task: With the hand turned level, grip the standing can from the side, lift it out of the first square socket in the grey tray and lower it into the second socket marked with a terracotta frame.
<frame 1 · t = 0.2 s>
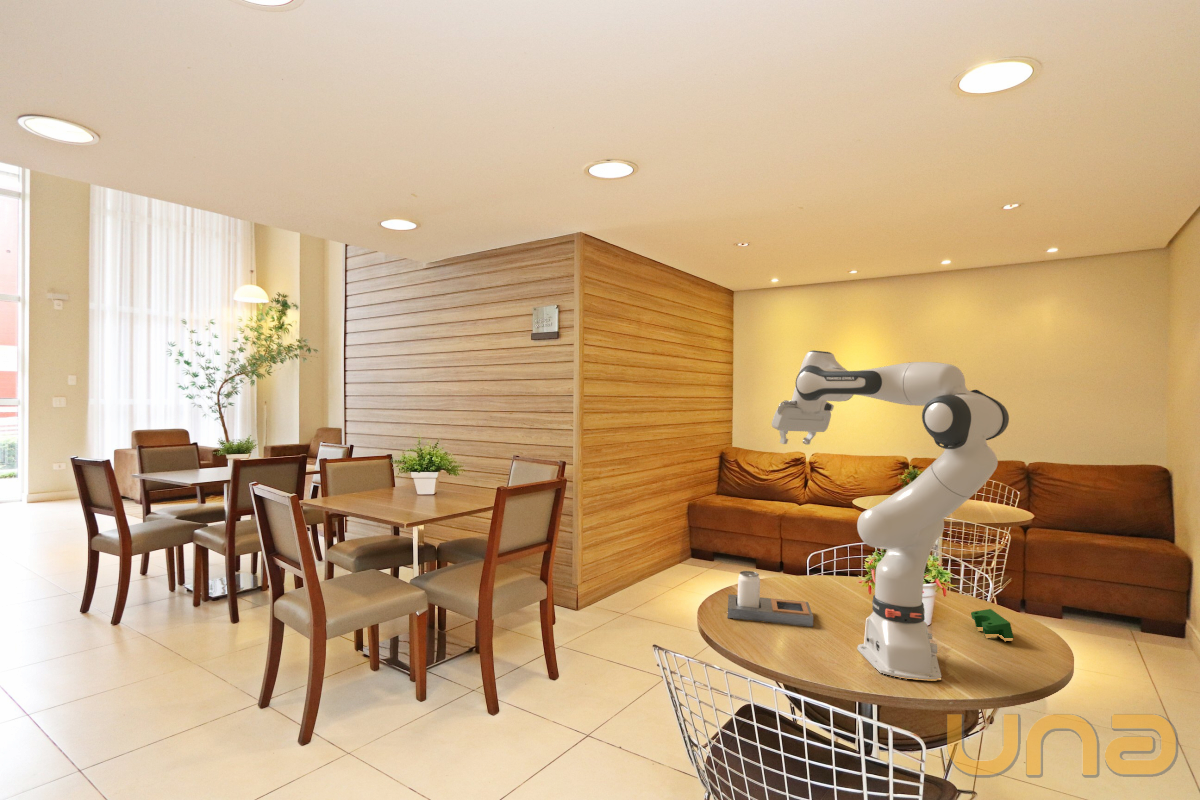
hand: (794, 443, 193), 51 cm above the table, tool tilted 15°, fingers open, 8 cm apart
grey tray: (768, 614, 187), on the table
clamp: (990, 636, 175), on the table
can: (747, 613, 188), resting in grey tray
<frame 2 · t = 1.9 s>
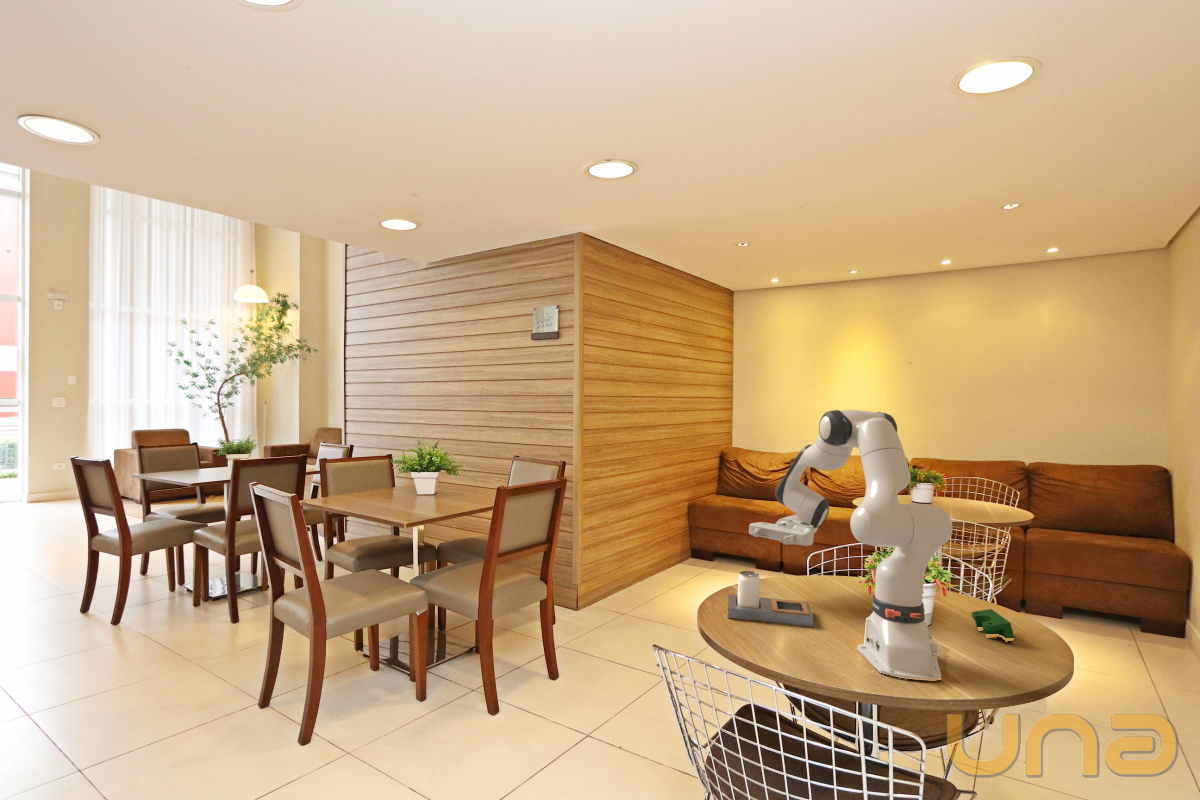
hand: (768, 537, 197), 21 cm above the table, tool horizontal, fingers open, 8 cm apart
nothing on the table moved.
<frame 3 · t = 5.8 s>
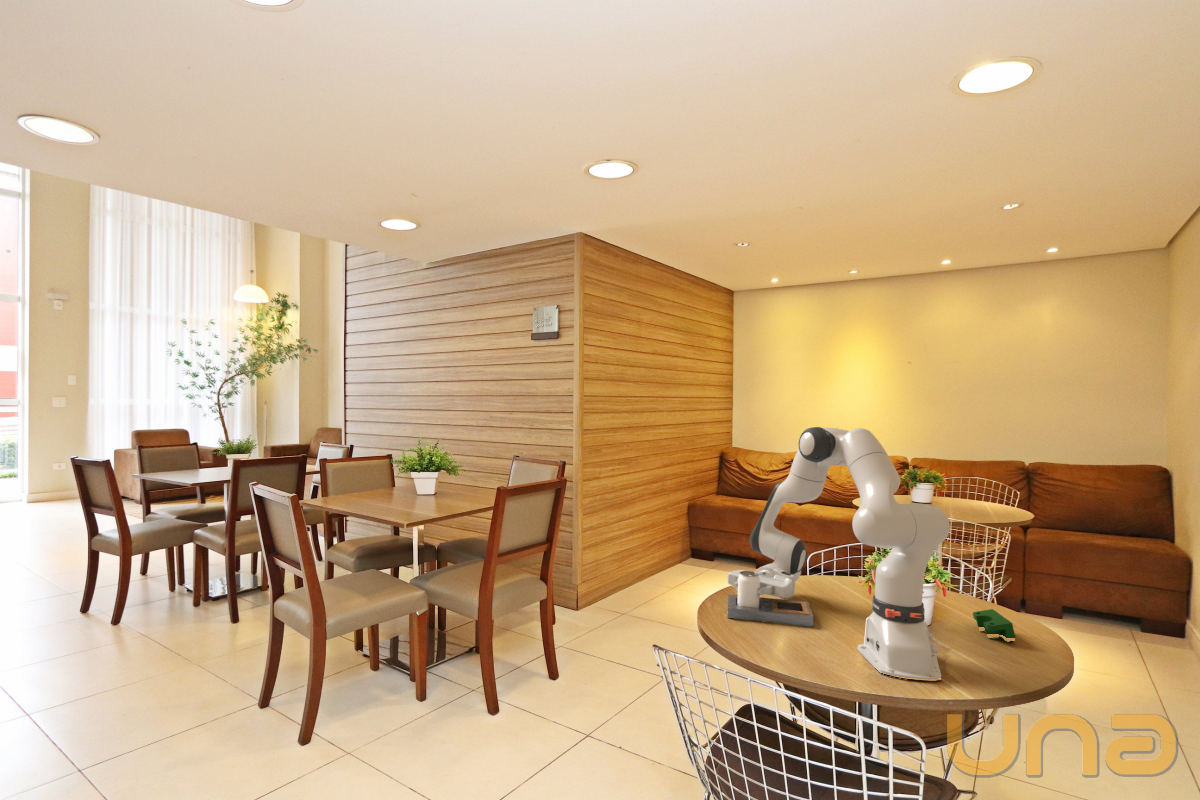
hand: (747, 588, 187), 8 cm above the table, tool horizontal, fingers open, 6 cm apart
can: (747, 613, 188), resting in grey tray, touching gripper
everything else where it was.
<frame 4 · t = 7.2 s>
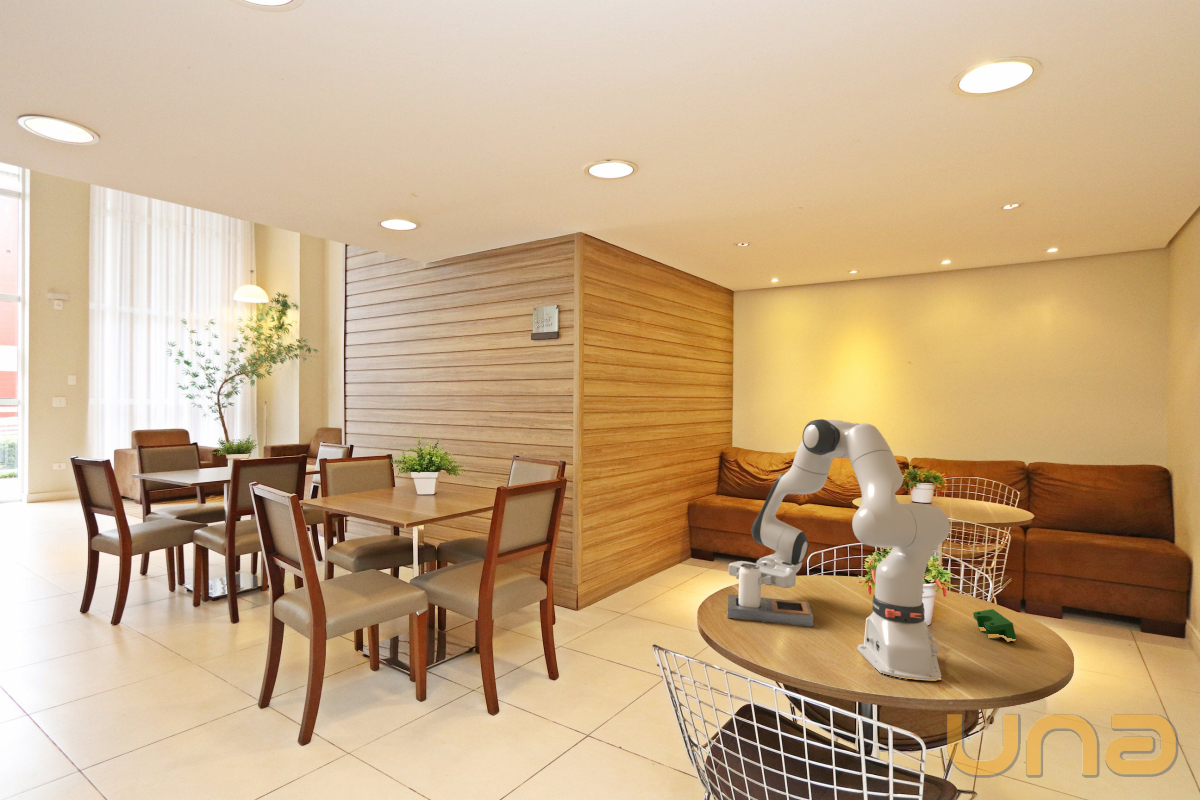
hand: (748, 579, 187), 11 cm above the table, tool horizontal, fingers closed on can, 5 cm apart
can: (749, 606, 187), point 2 cm above the table, touching gripper
everything else where it was.
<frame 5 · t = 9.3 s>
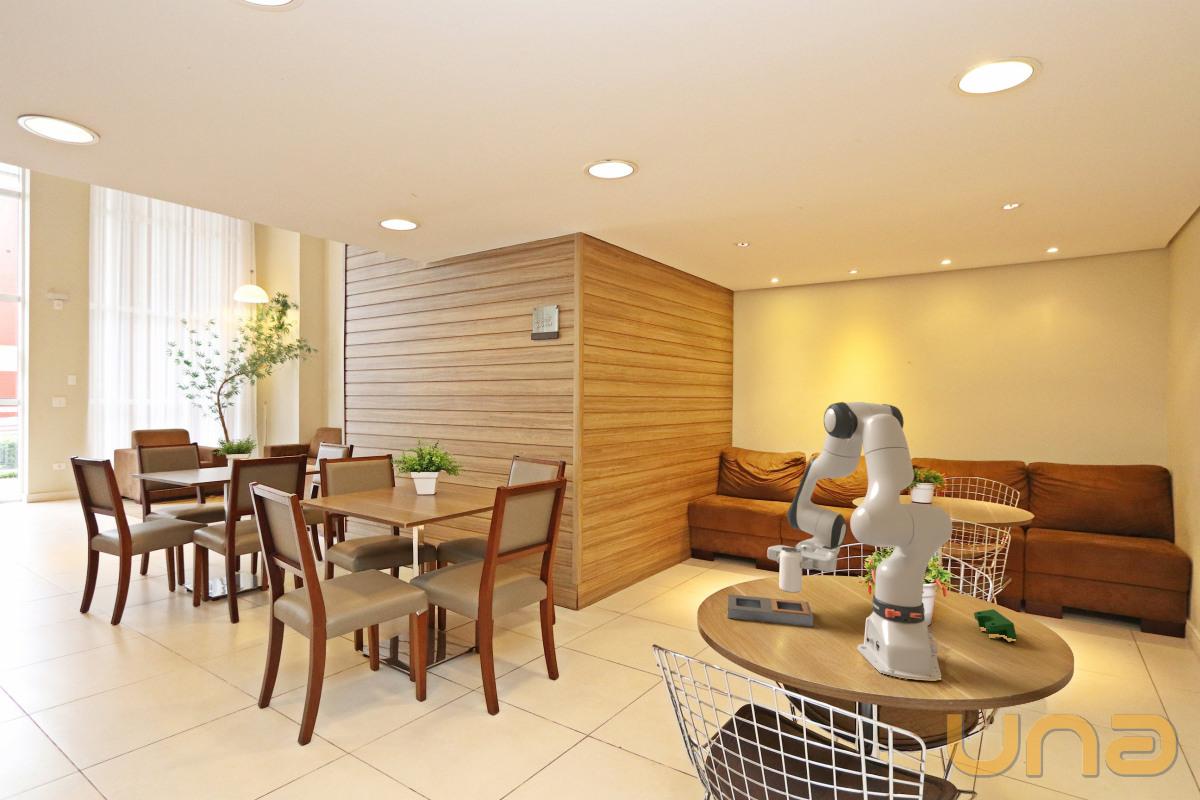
hand: (789, 562, 184), 16 cm above the table, tool horizontal, fingers closed on can, 5 cm apart
can: (790, 590, 185), point 8 cm above the table, touching gripper
everything else where it was.
when the fingers open (8 cm above the table, at t = 12.2 s): can stays where it is, resting in grey tray.
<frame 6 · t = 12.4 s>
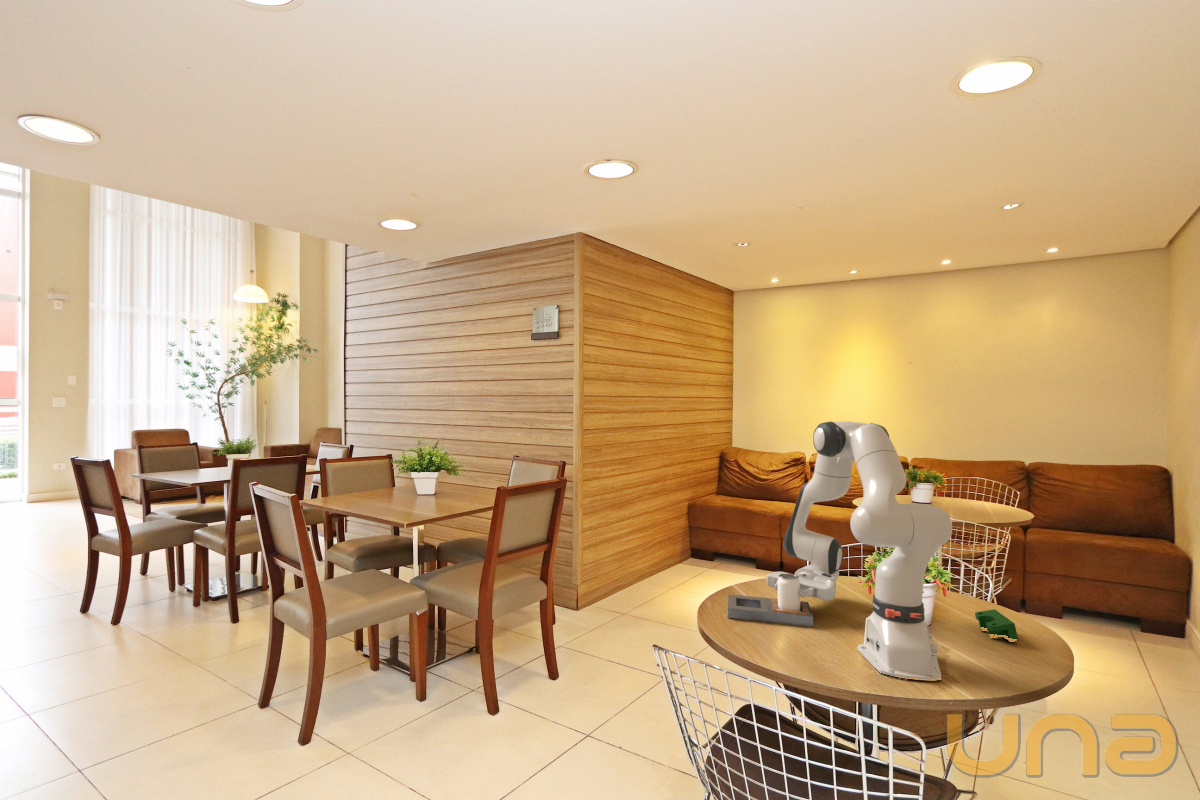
hand: (788, 590, 184), 8 cm above the table, tool horizontal, fingers open, 6 cm apart
can: (789, 617, 185), resting in grey tray, touching gripper
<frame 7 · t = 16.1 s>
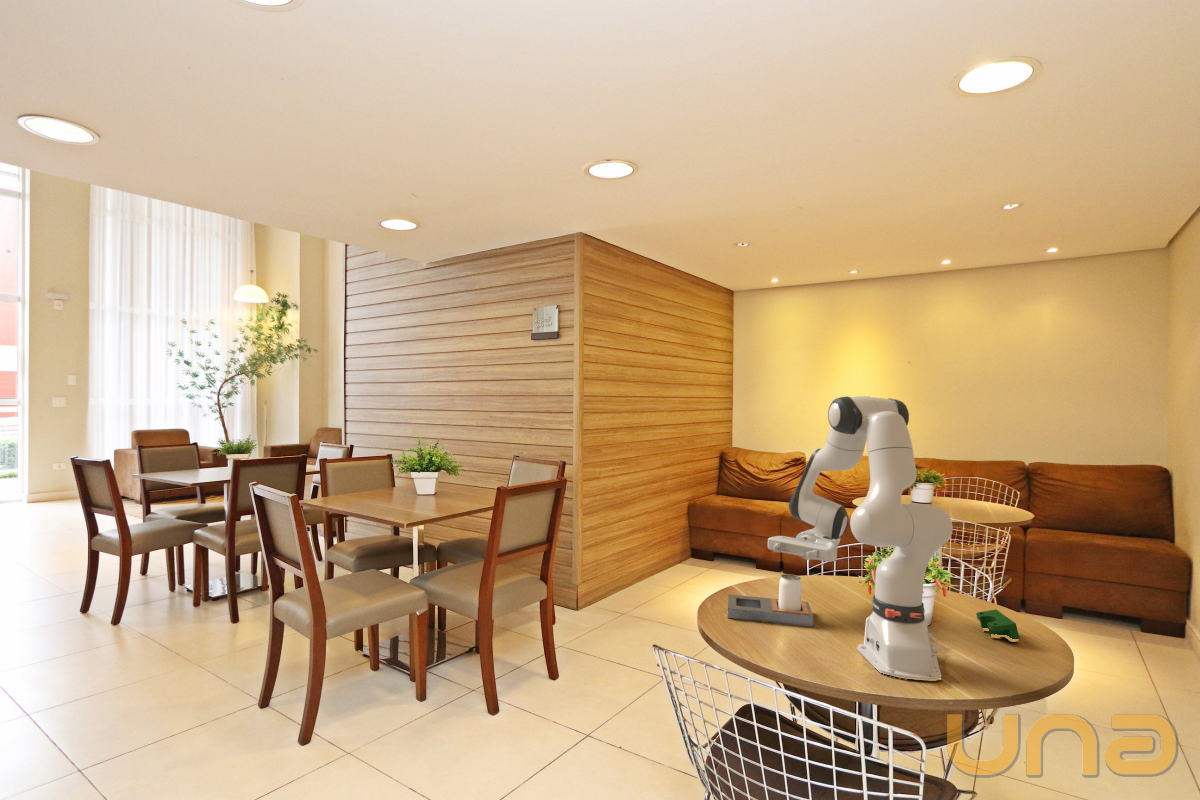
hand: (790, 552, 184), 20 cm above the table, tool horizontal, fingers open, 8 cm apart
can: (789, 617, 185), resting in grey tray
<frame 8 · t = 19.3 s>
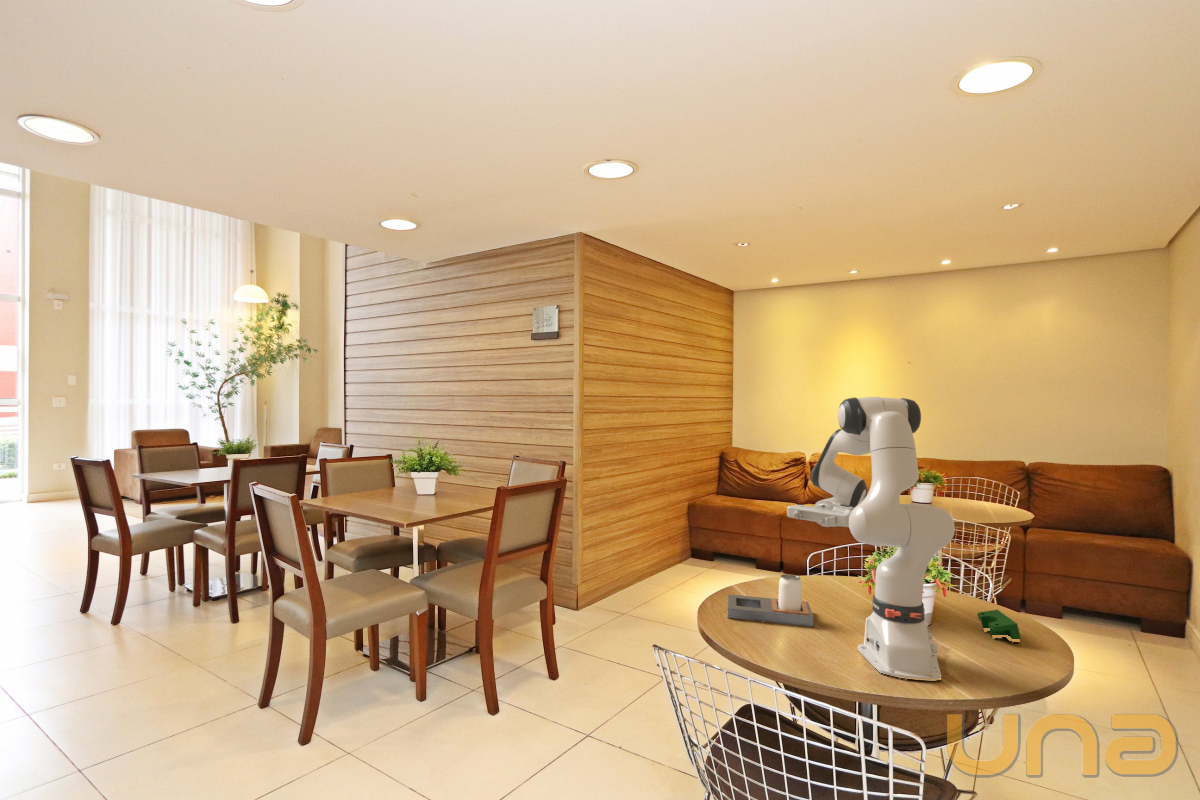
hand: (809, 518, 194), 28 cm above the table, tool horizontal, fingers open, 8 cm apart
at the end: can 0.1 cm from the target spot on the grey tray, point 0.0 cm above the grey tray's base; can tilted 1°; the gripper is holding nothing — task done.
